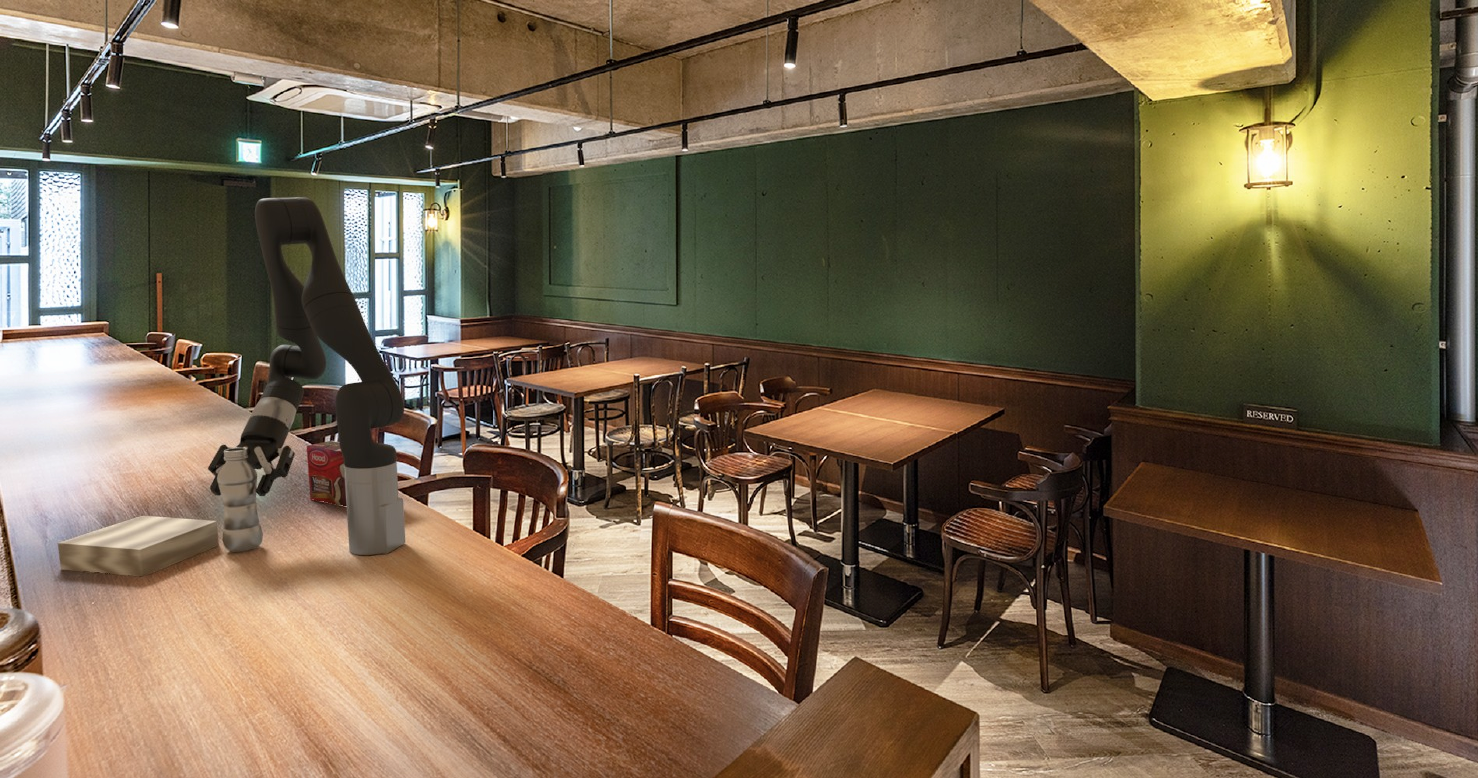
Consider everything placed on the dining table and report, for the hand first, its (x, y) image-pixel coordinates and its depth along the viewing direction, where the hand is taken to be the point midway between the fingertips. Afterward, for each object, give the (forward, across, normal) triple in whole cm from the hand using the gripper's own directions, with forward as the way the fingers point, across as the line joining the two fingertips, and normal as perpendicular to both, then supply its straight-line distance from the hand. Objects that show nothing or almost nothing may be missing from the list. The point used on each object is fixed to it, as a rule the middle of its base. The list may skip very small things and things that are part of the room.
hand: (237, 494), depth 142 cm
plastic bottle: (+8, 0, +8) cm, 12 cm away
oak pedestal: (+11, -16, +5) cm, 20 cm away
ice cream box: (-14, +5, +31) cm, 34 cm away
